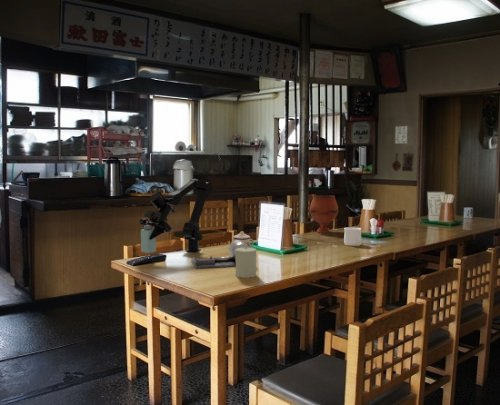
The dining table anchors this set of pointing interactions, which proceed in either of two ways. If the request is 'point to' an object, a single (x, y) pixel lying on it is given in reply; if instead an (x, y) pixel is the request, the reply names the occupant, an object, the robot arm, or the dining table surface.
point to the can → (245, 262)
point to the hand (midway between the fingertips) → (146, 238)
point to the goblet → (323, 211)
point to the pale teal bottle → (147, 240)
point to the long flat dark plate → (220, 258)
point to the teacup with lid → (243, 238)
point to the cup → (352, 236)
